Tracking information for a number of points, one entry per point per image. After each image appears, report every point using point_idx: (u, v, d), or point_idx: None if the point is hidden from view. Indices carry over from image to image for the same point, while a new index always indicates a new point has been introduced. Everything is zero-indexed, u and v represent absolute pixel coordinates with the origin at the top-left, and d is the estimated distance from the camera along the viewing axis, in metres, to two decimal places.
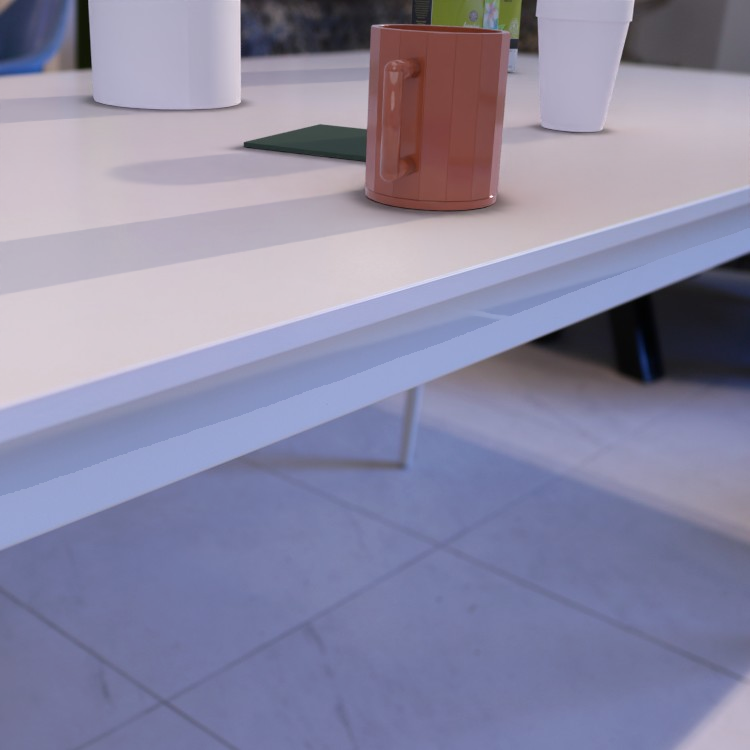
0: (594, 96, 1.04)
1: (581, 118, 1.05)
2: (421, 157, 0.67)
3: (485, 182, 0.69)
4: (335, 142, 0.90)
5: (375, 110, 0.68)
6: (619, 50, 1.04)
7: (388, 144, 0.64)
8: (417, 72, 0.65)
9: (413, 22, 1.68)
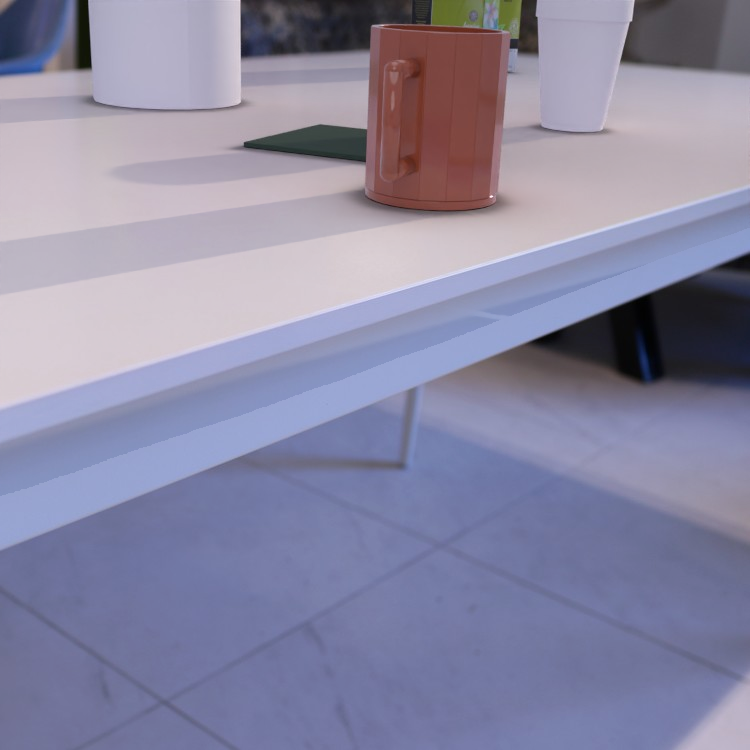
0: (594, 96, 1.04)
1: (581, 118, 1.05)
2: (421, 157, 0.67)
3: (485, 182, 0.69)
4: (335, 142, 0.90)
5: (375, 110, 0.68)
6: (619, 50, 1.04)
7: (388, 144, 0.64)
8: (417, 72, 0.65)
9: (413, 22, 1.68)
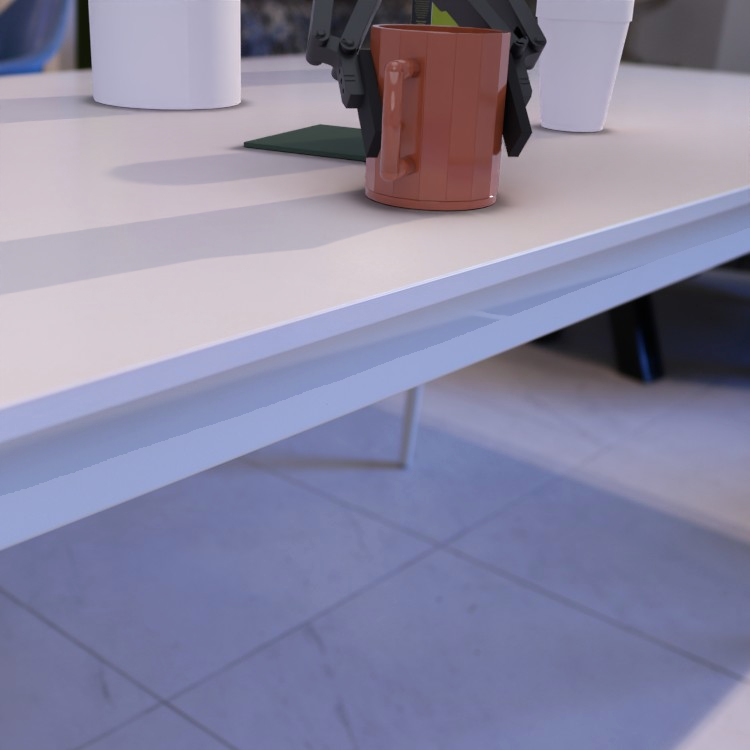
0: (594, 96, 1.04)
1: (581, 118, 1.05)
2: (421, 157, 0.67)
3: (485, 182, 0.69)
4: (335, 142, 0.90)
5: None
6: (619, 50, 1.04)
7: (388, 144, 0.64)
8: (417, 72, 0.65)
9: (413, 22, 1.68)
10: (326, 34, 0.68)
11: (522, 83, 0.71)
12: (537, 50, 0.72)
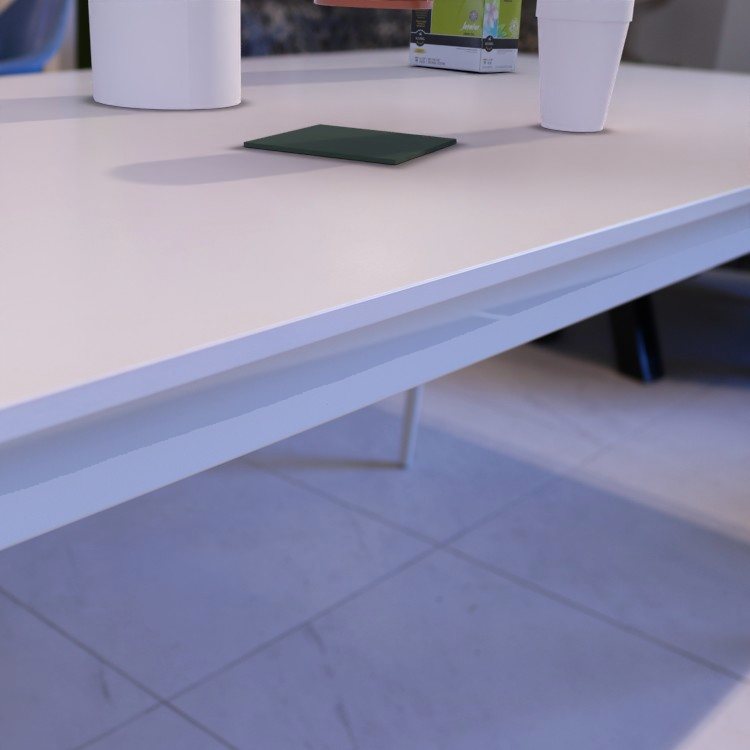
0: (594, 95, 1.04)
1: (581, 118, 1.05)
2: None
3: None
4: (335, 142, 0.90)
5: None
6: (619, 50, 1.04)
7: None
8: None
9: (413, 22, 1.68)
10: None
11: None
12: None
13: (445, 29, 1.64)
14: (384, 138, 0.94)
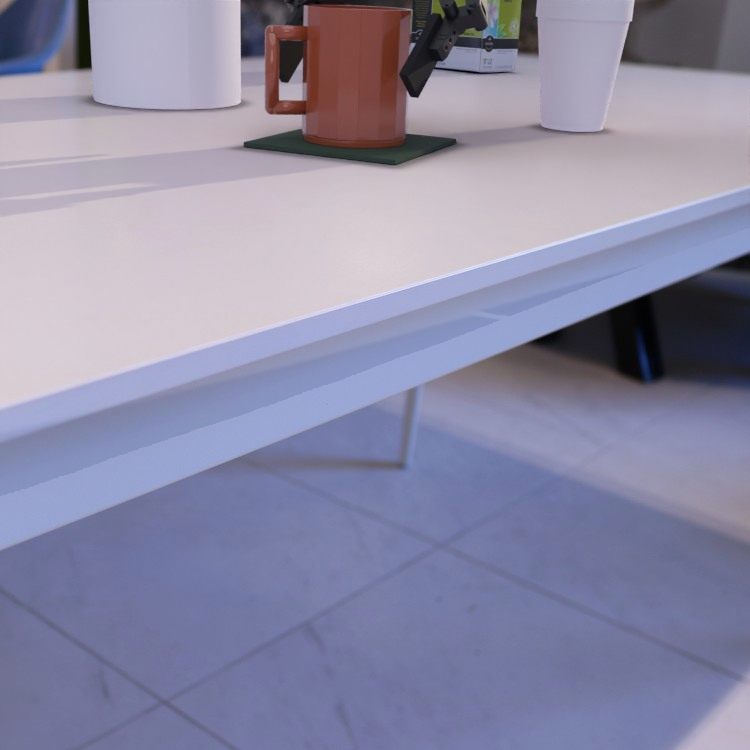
0: (594, 95, 1.04)
1: (581, 118, 1.05)
2: (306, 101, 0.89)
3: (352, 127, 0.87)
4: None
5: None
6: (619, 50, 1.04)
7: (265, 86, 0.88)
8: (301, 36, 0.87)
9: (413, 22, 1.68)
10: None
11: (439, 38, 0.85)
12: (471, 13, 0.85)
13: None
14: None
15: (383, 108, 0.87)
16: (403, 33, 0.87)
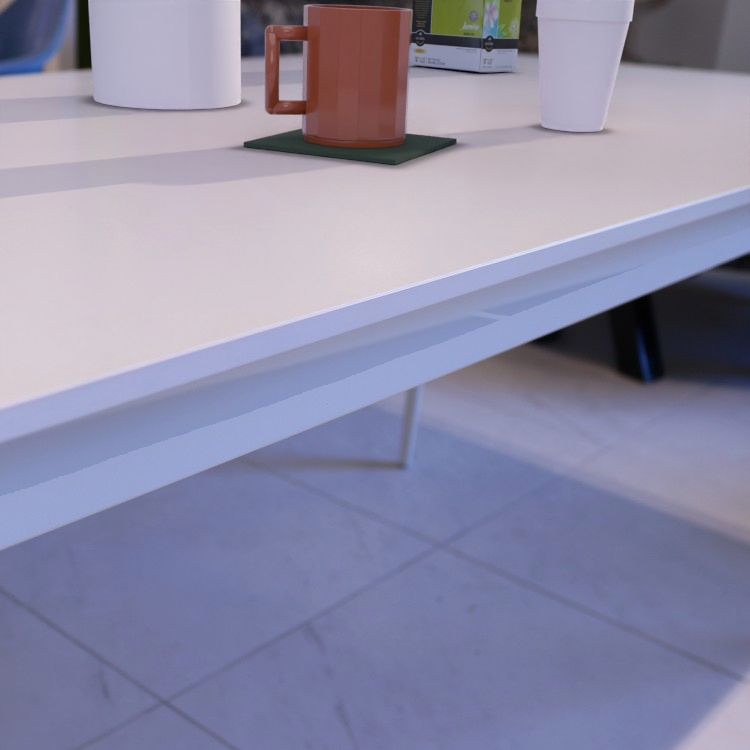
0: (594, 95, 1.04)
1: (581, 118, 1.05)
2: (306, 101, 0.89)
3: (352, 127, 0.87)
4: None
5: None
6: (619, 50, 1.04)
7: (265, 86, 0.88)
8: (301, 36, 0.87)
9: (413, 22, 1.68)
10: None
11: None
12: None
13: (445, 29, 1.64)
14: None
15: (383, 108, 0.87)
16: (403, 33, 0.87)
